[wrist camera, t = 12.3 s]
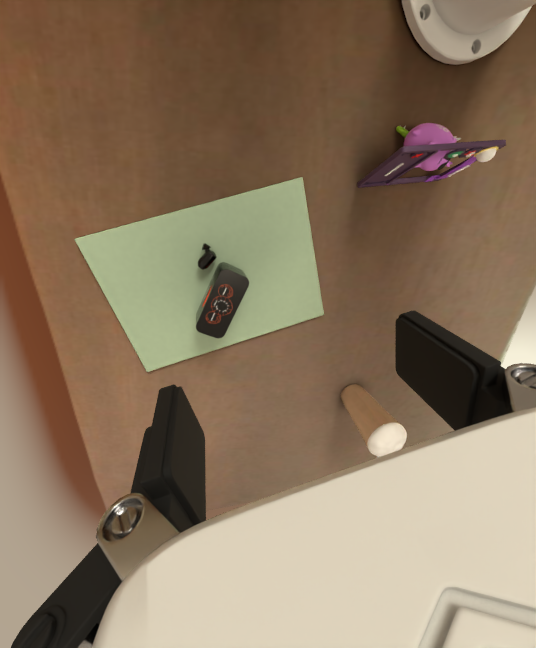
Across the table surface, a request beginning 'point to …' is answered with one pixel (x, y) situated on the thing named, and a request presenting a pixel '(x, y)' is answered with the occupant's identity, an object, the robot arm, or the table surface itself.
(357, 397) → the milkshake
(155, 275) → the desk mat
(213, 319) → the wireless earbuds
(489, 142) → the purple creature toy frame
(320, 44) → the table surface
